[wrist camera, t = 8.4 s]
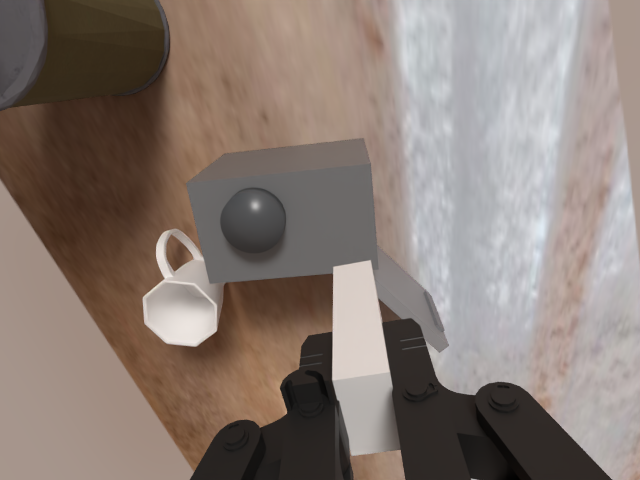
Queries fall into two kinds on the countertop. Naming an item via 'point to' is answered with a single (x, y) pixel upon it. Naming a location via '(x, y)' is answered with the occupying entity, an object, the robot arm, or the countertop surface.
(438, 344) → the door
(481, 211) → the countertop surface
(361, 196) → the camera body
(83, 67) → the canister
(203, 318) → the cup
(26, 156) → the countertop surface
